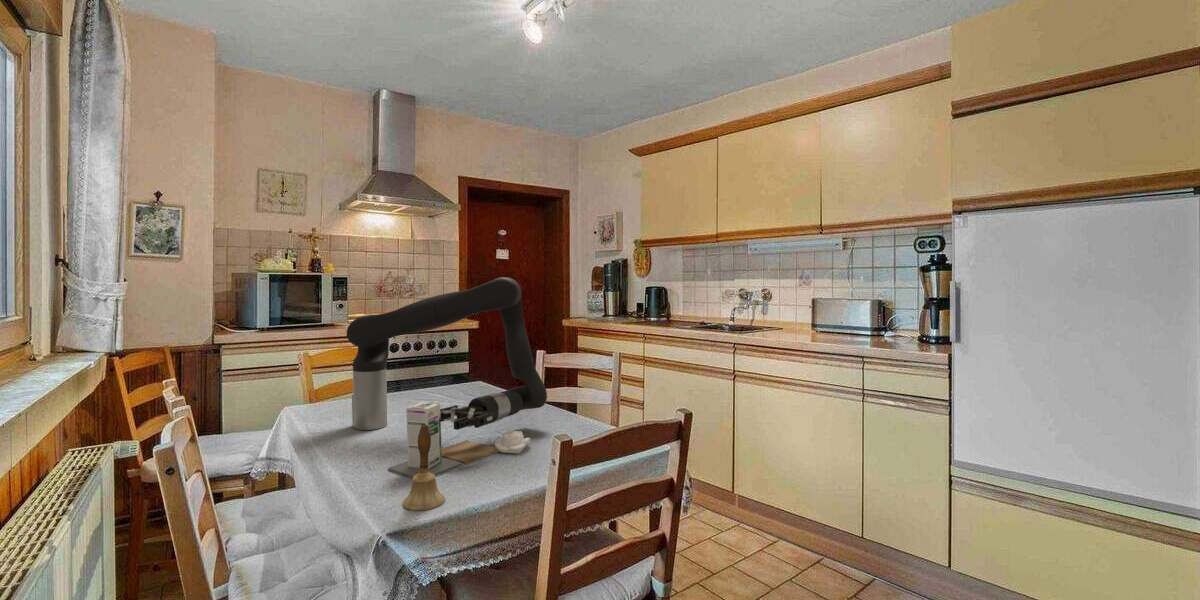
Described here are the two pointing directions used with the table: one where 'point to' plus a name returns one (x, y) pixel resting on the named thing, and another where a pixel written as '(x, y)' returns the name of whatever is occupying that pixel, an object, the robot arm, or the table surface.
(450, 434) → the table surface
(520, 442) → the rose
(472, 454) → the honey oak pad
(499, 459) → the table surface
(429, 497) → the hand bell
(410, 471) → the dark slate pad
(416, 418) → the syrup box
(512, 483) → the table surface
